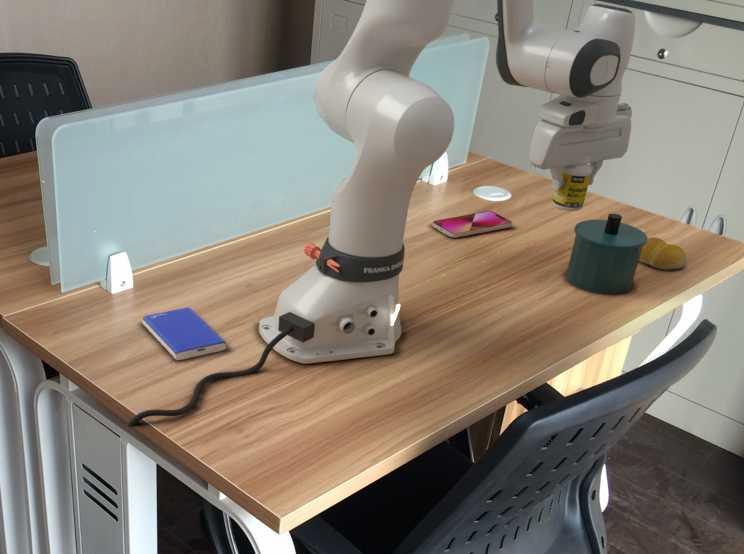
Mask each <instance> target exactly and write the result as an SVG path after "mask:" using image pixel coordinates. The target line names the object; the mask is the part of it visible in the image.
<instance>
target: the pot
mask: <svg viewBox="0 0 744 554" xmlns="http://www.w3.org/2000/svg"><path fill="white" fill-rule="evenodd" d="M642 247H643V246H641V247H638V248H633V249H616V248H609V247H603V246H599V245H596V244H592V243H590V242H587V241H585V240H583V239H581V238H580V237H578V236H577V235H576V234H575V236H574V241H573V244H572V249H571V253H570V257H569V260H568V265H567V268H566V275H565V277H566V279H567V281H568V282H569V283H570V284H572V285H573V286H575V287H577V288H578V289H579V288H580V290H581V289H582V290H584V291H588V292H590V293H591V292H592V293H595V294H596V293H597V294H602V295H617V294H622V293H625V292H627V291H629V290H630V289H631V287H632V285H633V283H634V282H633V281H634V278H635V275H636V272H637V268H638V264H639V262H640V261H639V258H640V254H641V251H642Z"/></svg>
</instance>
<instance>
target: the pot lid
mask: <svg viewBox="0 0 744 554" xmlns="http://www.w3.org/2000/svg"><path fill="white" fill-rule="evenodd" d="M622 219H623V216H622V215H621V214H618V213H609V214H608V216H607V219H588V220H582V221H580V222H577V223H576V224H575V225H574V228H573V229H574V233H575V236H576V235H577V236H578V237H580V238H581V239H583V240H585V241H587V242H590V243H592V244H596V245H599V246H603V247H609V248H616V249H633V248H638V247H641V246H643V245H645V244H646V242H647V238H648V235H647V234H646V233H645V232H644V231H642V230H641V229H639V228H638V227H635V226H633V225H631V224H628V223H624V222H622Z"/></svg>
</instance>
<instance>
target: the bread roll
mask: <svg viewBox="0 0 744 554" xmlns="http://www.w3.org/2000/svg"><path fill="white" fill-rule="evenodd" d="M686 260H687V253H686V251H685V249H684V248H682V247H681V246H679V245H676V244H672V243H667V242H666V241H665V240H664V239H662V238H659V237H656V236H650V237H647V242H646V244H645V245H643V247H642V251H641V254H640V258H639V261H638V262H640V263H642V264H645V265H650V266H651V267H652V268H655V269H658V270H667V271H668V270H677V269H681V268H682V267H683V266H684V265H685V263H686Z"/></svg>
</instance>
